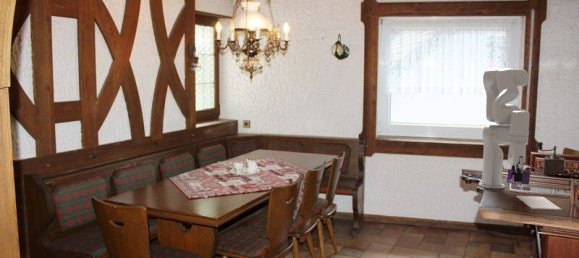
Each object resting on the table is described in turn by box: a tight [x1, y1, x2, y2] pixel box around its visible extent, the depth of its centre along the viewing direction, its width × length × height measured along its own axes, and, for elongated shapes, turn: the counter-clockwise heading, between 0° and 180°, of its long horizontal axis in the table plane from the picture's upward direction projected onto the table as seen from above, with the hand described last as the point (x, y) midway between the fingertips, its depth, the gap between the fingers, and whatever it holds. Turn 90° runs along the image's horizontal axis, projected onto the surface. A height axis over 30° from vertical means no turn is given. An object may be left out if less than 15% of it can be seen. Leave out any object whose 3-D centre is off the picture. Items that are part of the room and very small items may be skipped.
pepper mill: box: [535, 141, 565, 176], centre depth 309 cm, size 16×11×18 cm
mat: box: [516, 195, 562, 211], centre depth 239 cm, size 22×12×1 cm, turn 173°
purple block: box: [506, 169, 531, 186], centre depth 232 cm, size 7×5×9 cm
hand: (515, 179), depth 232 cm, fingers closed on purple block, 4 cm apart
